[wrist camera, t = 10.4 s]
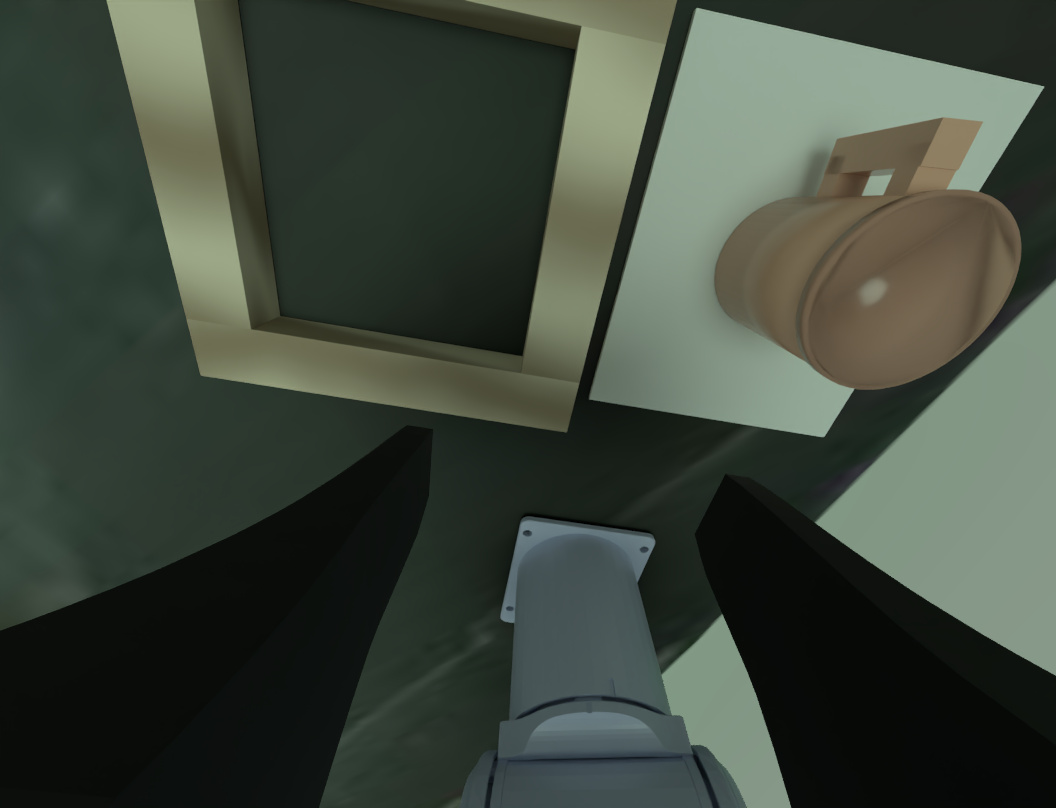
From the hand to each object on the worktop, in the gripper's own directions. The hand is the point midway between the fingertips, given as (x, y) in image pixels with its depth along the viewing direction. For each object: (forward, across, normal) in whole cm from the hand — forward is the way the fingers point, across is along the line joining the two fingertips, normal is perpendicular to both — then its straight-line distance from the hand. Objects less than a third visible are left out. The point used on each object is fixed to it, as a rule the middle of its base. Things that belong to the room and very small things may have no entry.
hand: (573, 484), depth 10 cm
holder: (+9, +7, -5) cm, 13 cm away
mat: (+9, -8, -5) cm, 13 cm away
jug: (+9, -8, -5) cm, 13 cm away
